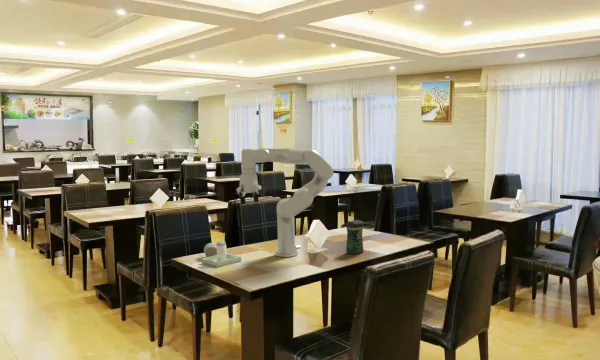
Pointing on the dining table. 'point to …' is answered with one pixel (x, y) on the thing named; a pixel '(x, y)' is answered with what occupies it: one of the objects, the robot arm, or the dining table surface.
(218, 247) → the shaker
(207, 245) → the ceramic mug
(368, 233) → the dining table surface
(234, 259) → the tray
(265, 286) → the dining table surface
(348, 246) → the coffee jar
